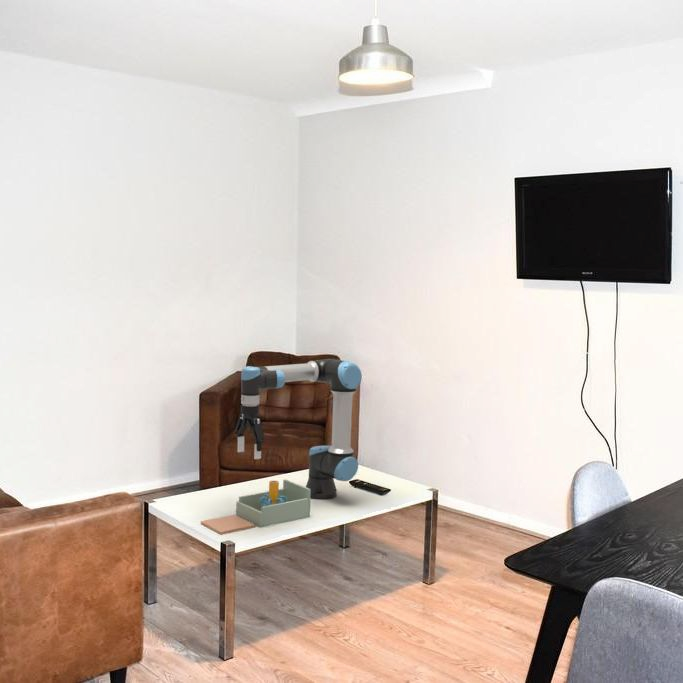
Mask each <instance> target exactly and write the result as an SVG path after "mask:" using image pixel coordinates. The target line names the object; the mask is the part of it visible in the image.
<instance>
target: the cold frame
mask: <svg viewBox="0 0 683 683" xmlns="http://www.w3.org/2000/svg"><path fill="white" fill-rule="evenodd" d="M282 481H283V484H282V485H283V487H282V488H279V489H278V494H279V496H285V497H287V500H288V501H287V502H286V499H285V498H281V499H282V500H283V503H282V502H281V501H280V503H279V504H274V505H269V506H261V505H260V503H259V500H260V498H262V497H264V495H265V494H268V495H269V490H268V491H264V492H258V493H252V494H246V495H241V496H238V501H236V505H235V506H236V508H235V509H236V510H235V512H236V513H235V515H236V516H238V517H240V518H242V519H244V520H246V521H248V522H250V523H252V524H254V525H255V526H256V527H258V528H263V527H267V526H268V527H269V526H271V525H277V524H281V523H286V522H290V521H291V522H292V521H296V520H301V519H305V518H309V517H311V498H310V493H311V489H309V488H306V486H304V485H301V484H299V483H295V482H294V481H290V480H289V479H283V480H282ZM266 497H267V498H268V496H266ZM268 499H269V498H268ZM265 500H266V502H267V499H265ZM261 503H262V504H263V505H265V504H266V503H265V502H264V500H263V499H262V500H261Z"/></svg>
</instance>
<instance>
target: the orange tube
mask: <svg viewBox="0 0 683 683" xmlns="http://www.w3.org/2000/svg"><path fill="white" fill-rule="evenodd" d="M278 489H280V488H279V480H275V479H274V480H273V479H272V480H269V482H268V491H269V495H268V494H265V495H264V497H262V498H260V500H259V503H260V505H261V506H269V505H274V504H279V503H280V501H281V502H282V503H283V500H282V499H281V498H285V499H286V502H287V501H288V500H287V497H285V496H279V494H278ZM266 496H268V498H269V499H268V498H267V497H266ZM262 499H263V500H264V502H265V503H266V504H265V505H263V504H262V503H261V500H262ZM265 499H267V502H266V500H265Z"/></svg>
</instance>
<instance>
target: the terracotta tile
mask: <svg viewBox="0 0 683 683" xmlns="http://www.w3.org/2000/svg"><path fill="white" fill-rule="evenodd" d="M200 524H201V525H202V526H204V527H206V528H208V529H210V530H211V531H213V532H216V533H217V534H219V535H225V534H231V533H234V532H238V531H243V530H248V529H253V528H256V525H255V524H252V523H250V522H248V521H246V520H244V519H242V518H240V517H238V516H236V514H231V515H225V516H221V517H217V518H215V517H214V518H211V519H206V520H201V521H200Z"/></svg>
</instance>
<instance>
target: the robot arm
mask: <svg viewBox="0 0 683 683" xmlns="http://www.w3.org/2000/svg"><path fill="white" fill-rule="evenodd" d="M240 377H241V378H240V380H241V381H240V383H241V385H240V386H241V387H240V389H241V390H240V391H241V392H240V394H241V395H240V396H241V398H240V400H241V401H240V403H241V405H240V413H239V414H238V419H237V423H236V427H235V430H234V435H236V436H237V453H244V452H245V432H246V431H247V429H248V428H249V430H251V432H252V436H253V438H254V441H255V442H254V449H253V450H254V458H253V459H254V460H260V459H261V458H262V444H263V443H265V442H266V440H265V435H264V431H263V427H262V426H263V425H262V419H261V418H257V415H259V414H260V394H261V393H260V392H261V391H262V390H273V389H276V390H277V389H280V388H283V387H284V385H285V383H287V382H289V383H291V382H299V381H301V382H302V381H309V382H311V383H313V382H314V383H316V382H318V383H325V384H329V386H330V387H329V388H330V389H329V390H330V392H331V393H332V395H333V396H332V397H333V399H332V423H331V424H332V425H331V426H332V427H331V445H315V446H312V447H311V448H309V453H308V479H307V482H306V486H305V487H306V488H309V489H311V493H310V499H316V500H329V499H333V498H335V497H337V496H338V495H337V492H338V491H337V487H336V482H335V481H334V480H337V481H339V482H340V481H341V482H348V481H350V480H352V479H353V478H354V477H355V476H356V474H357V472H358V469H359V462H358V460H357V458H355V457H354V452H355V451H354V449H353V448H352V447H351V438H352V436H351V435H352V419H353V418H352V413H353V395H354V394H355V393H356V392H357V388H359V386H360V384H361V383H362V378H363V374H362V370H361V369H360V367H359V366H358V365H357V364H356V363H354V362H351V361H349V360H341V359H335V358H325V359H317V360H309V361H308V362H306V363H295V364H294V363H293V364H282V365H281V364H280V365H268V366H266V365H265V366H254V365H253V366H252V365H250V366H248V365H247V366H245V367H243V368H242V369H241V374H240Z"/></svg>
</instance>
